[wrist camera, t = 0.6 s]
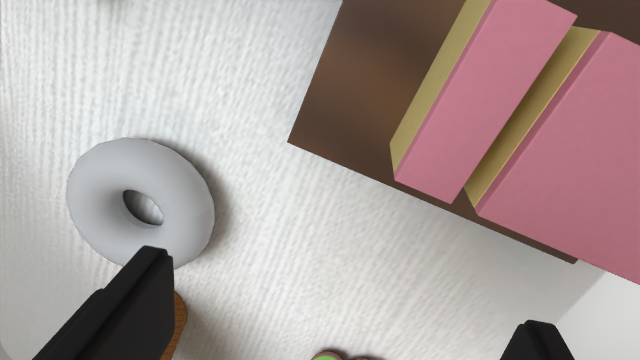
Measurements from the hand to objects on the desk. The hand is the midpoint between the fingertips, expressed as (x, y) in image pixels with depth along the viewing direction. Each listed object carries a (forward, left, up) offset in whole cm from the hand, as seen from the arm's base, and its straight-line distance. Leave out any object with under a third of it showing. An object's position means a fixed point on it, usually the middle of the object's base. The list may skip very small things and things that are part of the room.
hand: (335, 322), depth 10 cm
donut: (+7, -13, -15) cm, 21 cm away
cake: (-2, +12, -14) cm, 19 cm away
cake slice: (-4, +5, -14) cm, 15 cm away
